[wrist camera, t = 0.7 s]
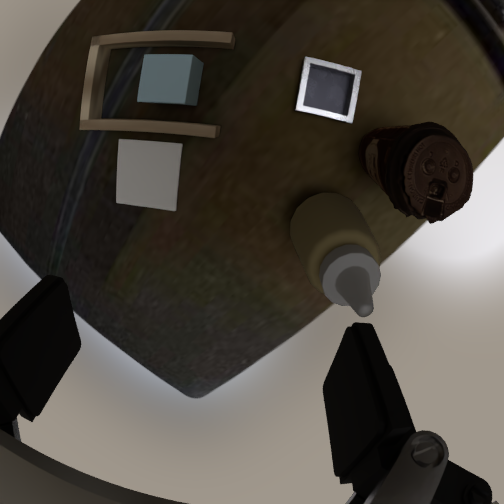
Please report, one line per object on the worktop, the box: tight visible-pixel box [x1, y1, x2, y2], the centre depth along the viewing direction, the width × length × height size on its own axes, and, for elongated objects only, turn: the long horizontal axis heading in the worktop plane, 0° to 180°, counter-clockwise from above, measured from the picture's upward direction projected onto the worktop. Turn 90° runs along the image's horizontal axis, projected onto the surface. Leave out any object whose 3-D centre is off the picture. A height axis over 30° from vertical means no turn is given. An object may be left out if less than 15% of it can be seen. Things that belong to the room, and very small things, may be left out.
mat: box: [116, 139, 183, 211], centre depth 33 cm, size 8×8×1 cm
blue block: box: [137, 54, 204, 106], centre depth 26 cm, size 5×5×5 cm
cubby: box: [80, 30, 235, 138], centre depth 27 cm, size 11×16×3 cm
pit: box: [294, 57, 362, 123], centre depth 27 cm, size 6×6×2 cm
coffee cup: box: [359, 122, 473, 224], centre depth 25 cm, size 9×8×13 cm
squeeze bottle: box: [290, 193, 381, 317], centre depth 26 cm, size 8×8×18 cm
